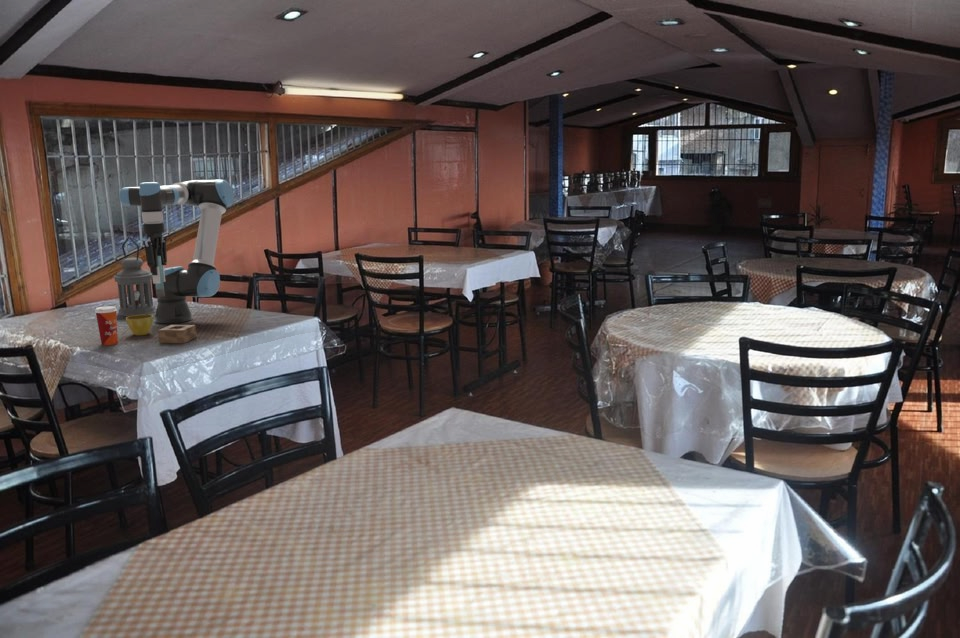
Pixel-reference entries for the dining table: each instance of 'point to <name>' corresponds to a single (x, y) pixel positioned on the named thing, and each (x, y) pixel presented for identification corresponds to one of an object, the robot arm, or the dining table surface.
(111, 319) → the paper cup
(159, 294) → the teal rectangular bar
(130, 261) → the lantern
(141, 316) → the flower pot
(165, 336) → the wooden block with hole
